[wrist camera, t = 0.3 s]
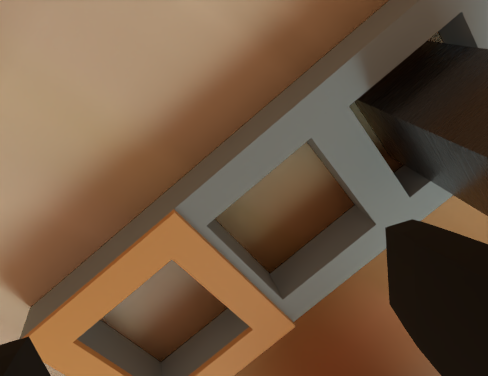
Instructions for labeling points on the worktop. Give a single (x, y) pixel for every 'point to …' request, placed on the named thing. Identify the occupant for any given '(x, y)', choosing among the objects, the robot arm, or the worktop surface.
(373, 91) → the block
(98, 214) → the worktop surface
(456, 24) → the grey rectangular frame
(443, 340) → the robot arm
